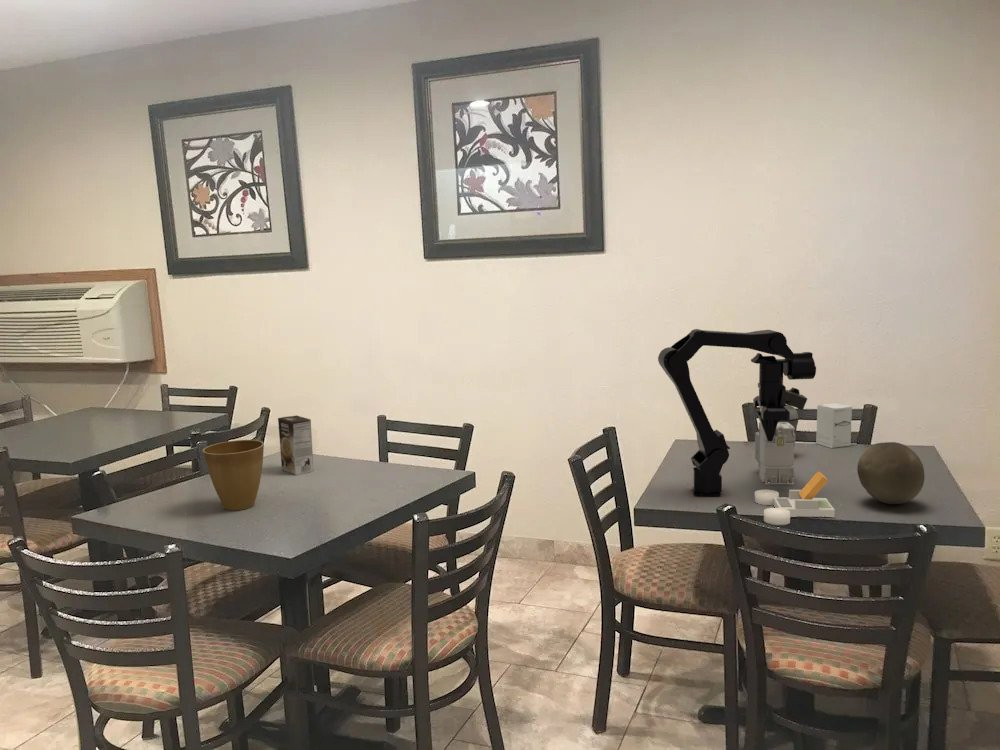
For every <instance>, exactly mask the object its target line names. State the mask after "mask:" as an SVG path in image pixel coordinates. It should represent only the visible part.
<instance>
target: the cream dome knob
mask: <svg viewBox="0 0 1000 750" xmlns="http://www.w3.org/2000/svg"><path fill="white" fill-rule="evenodd" d="M773 497H780V494H779V492H778V491H777V490H773V489H757V490H755V491H754V502H756V504H757V503H758V505H760V504H762V505H761V506H766V505H772V506H773Z"/></svg>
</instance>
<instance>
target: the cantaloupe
mask: <svg viewBox="0 0 1000 750" xmlns="http://www.w3.org/2000/svg"><path fill="white" fill-rule="evenodd" d="M856 468H857V469H856V470H857V476H858V478H859V481H860V484H861V486H862V487H863V488H864V489H865V491H866V492H867V493H868V494H869V495H870V496H871V497H872V498H873V499H875V500H877V501H879V502H881V503H883V504H887V505H902V504H905V503H908V502H911V500H913V499H914V498H916V497H917V496H918V495H919V493H920V492H921V491H922V489H923V487H924V483H925V479H926V477H925V468H924V465H923V462H922V460H921V459H920V456H918V454H917V453H916V452H915V451H914V450H912V449H911V448H910V447H908V446H907V445H905V444H903V443H900V442H895V441H890V442H889V441H887V442H886V441H885V442H878V443H874V444H872V445H870V446H869V447H868V448H867V449H865V450H864V451H863V453H862V454H861V455H860V457H859V459H858V463H857V467H856Z"/></svg>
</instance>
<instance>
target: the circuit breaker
mask: <svg viewBox="0 0 1000 750" xmlns="http://www.w3.org/2000/svg"><path fill="white" fill-rule="evenodd" d="M794 430H795V428H794V427H793V426H792V425H791V424H790V423H788V422H778V424H777V427H776V431H775V434H774V438H773V441H768V440H767V438H766V435H765V432H764V430H763V427H762V425H761V422H760V421H759V422H758V432H755V434H754V436H755V437H754V438H755V439H754V441H755V442H754V459H755V460H756V462H757V463H758V466H757V467H758V468H757V469H758V470H757V471H758V473H757V475H758V476H757V477H758V478H759V477H760V478H759V479H760V480H761V481H762V483H763V482H765V483H764V485H795V482H794V479H795V472H796V471H795V470H796V469H795V464H794V463H795V447H794V444H795V445H796V438H795V433H794ZM768 482H770V483H768ZM788 482H790V483H788Z"/></svg>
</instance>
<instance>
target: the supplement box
mask: <svg viewBox="0 0 1000 750" xmlns="http://www.w3.org/2000/svg"><path fill="white" fill-rule="evenodd" d="M816 409H817V410H816V433H815V434H816V438H815V439H816V442H815V444H817V445H820V446H823V447H827V448H829V449H834V448H842V447H851V443H852V442H851V441H852V419H853V418H852V417H853V416H852V414H853V406H851V405H849V404H848V405H847V404H842V403H837V402H834V403H825V404H817V405H816Z"/></svg>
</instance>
